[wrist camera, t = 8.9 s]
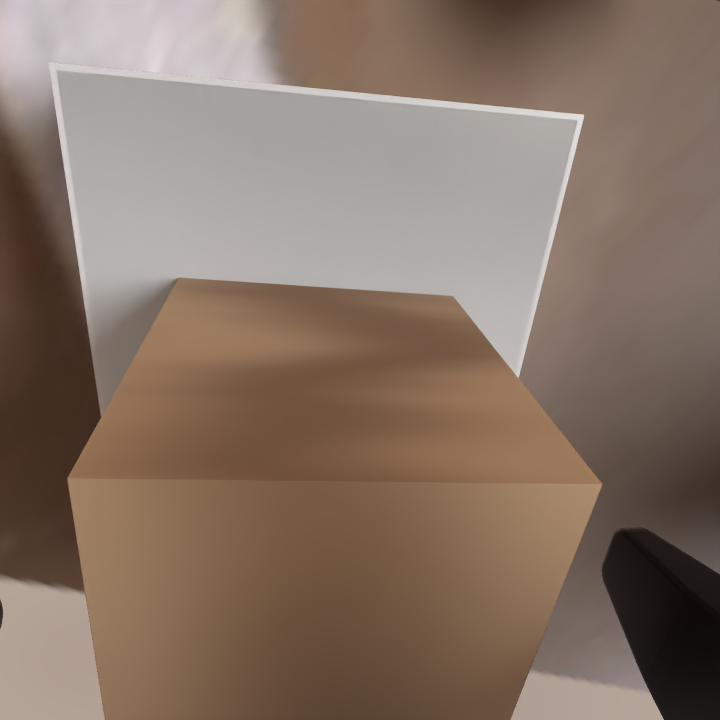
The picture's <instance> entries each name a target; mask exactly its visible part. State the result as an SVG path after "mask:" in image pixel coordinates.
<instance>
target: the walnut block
mask: <svg viewBox="0 0 720 720" xmlns="http://www.w3.org/2000/svg"><path fill="white" fill-rule="evenodd" d="M67 480H68V486H69V493H70V499H71V505H72V512H73V518H74V525H75V531H76V537H77V544H78V550H79V557H80V563H81V569H82V576H83V582H84V589H85V595H86V601H87V608H88V614H89V620H90V626H91V633H92V640H93V646H94V652H95V658H96V665H97V672H98V678H99V684H100V690H101V697H102V704H103V710H104V715H105V720H510V719H511V717H512V714H513V711H514V709H515V706H516V704H517V701H518V698H519V696H520V694H521V691H522V688H523V686H524V683H525V680H526V678H527V676H528V673H529V671H530V668H531V666H532V663H533V660H534V658H535V655H536V653H537V650H538V648H539V645H540V643H541V640H542V637H543V635H544V632H545V630H546V627H547V625H548V622H549V620H550V617H551V614H552V612H553V609H554V607H555V604H556V602H557V599H558V597H559V594H560V592H561V589H562V586H563V584H564V581H565V579H566V576H567V574H568V571H569V569H570V566H571V563H572V561H573V558H574V556H575V553H576V551H577V548H578V546H579V543H580V541H581V538H582V535H583V533H584V530H585V528H586V525H587V523H588V520H589V518H590V515H591V512H592V510H593V507H594V505H595V502H596V500H597V497H598V495H599V492H600V489H601V487H602V483H601V482H600V480H599V479H598V478H597V477H596V475H595V474H594V473H593V472H592V470H591V469H590V468H589V467H588V465H587V464H586V463H585V462H584V460H583V459H582V458H581V456H580V455H579V454H578V453H577V451H576V450H575V449H574V448H573V446H572V445H571V444H570V443H569V441H568V440H567V439H566V438H565V436H564V435H563V434H562V433H561V431H560V430H559V429H558V428H557V426H556V425H555V424H554V422H553V421H552V420H551V419H550V417H549V416H548V415H547V414H546V412H545V411H544V410H543V409H542V407H541V406H540V405H539V404H538V402H537V401H536V400H535V399H534V397H533V396H532V395H531V394H530V392H529V391H528V390H527V388H526V387H525V386H524V385H523V383H522V382H521V381H520V380H519V378H518V377H517V376H516V375H515V373H514V372H513V371H512V370H511V368H510V367H509V366H508V365H507V363H506V362H505V361H504V360H503V358H502V357H501V356H500V354H499V353H498V352H497V351H496V349H495V348H494V347H493V346H492V344H491V343H490V342H489V341H488V339H487V338H486V337H485V336H484V334H483V333H482V332H481V331H480V329H479V328H478V327H477V326H476V324H475V323H474V322H473V320H472V319H471V318H470V317H469V315H468V314H467V313H466V312H465V310H464V309H463V308H462V307H461V305H460V304H459V303H458V302H457V300H456V299H455V298H454V297H453V296H444V295H429V294H415V293H400V292H386V291H371V290H356V289H342V288H327V287H313V286H298V285H283V284H269V283H254V282H239V281H224V280H208V279H193V278H178V280H177V282H176V284H175V285H174V287H173V289H172V291H171V293H170V294H169V296H168V298H167V300H166V302H165V303H164V305H163V307H162V309H161V311H160V312H159V314H158V316H157V318H156V320H155V321H154V323H153V325H152V327H151V329H150V330H149V332H148V334H147V336H146V338H145V339H144V341H143V343H142V345H141V347H140V348H139V350H138V352H137V354H136V356H135V357H134V359H133V361H132V363H131V365H130V366H129V368H128V370H127V372H126V374H125V375H124V377H123V379H122V381H121V383H120V384H119V386H118V388H117V390H116V392H115V393H114V395H113V397H112V399H111V401H110V402H109V404H108V406H107V408H106V410H105V411H104V413H103V415H102V417H101V419H100V420H99V422H98V424H97V426H96V428H95V429H94V431H93V433H92V435H91V437H90V438H89V440H88V442H87V444H86V446H85V447H84V449H83V451H82V453H81V455H80V456H79V458H78V460H77V462H76V464H75V465H74V467H73V469H72V471H71V473H70V474H69V476H68V478H67Z"/></svg>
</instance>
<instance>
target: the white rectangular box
mask: <svg viewBox="0 0 720 720" xmlns="http://www.w3.org/2000/svg"><path fill="white" fill-rule="evenodd" d="M48 63H49V69H50V76H51V83H52V90H53V96H54V103H55V110H56V117H57V123H58V130H59V137H60V144H61V150H62V157H63V164H64V171H65V177H66V184H67V191H68V198H69V204H70V211H71V218H72V225H73V231H74V238H75V245H76V252H77V258H78V265H79V272H80V279H81V285H82V292H83V299H84V306H85V312H86V319H87V326H88V333H89V339H90V346H91V353H92V360H93V366H94V373H95V380H96V387H97V393H98V400H99V407H100V414H101V417H102V415H103V413H104V411H105V410H106V408H107V406H108V404H109V402H110V401H111V399H112V397H113V395H114V393H115V392H116V390H117V388H118V386H119V384H120V383H121V381H122V379H123V377H124V375H125V374H126V372H127V370H128V368H129V366H130V365H131V363H132V361H133V359H134V357H135V356H136V354H137V352H138V350H139V348H140V347H141V345H142V343H143V341H144V339H145V338H146V336H147V334H148V332H149V330H150V329H151V327H152V325H153V323H154V321H155V320H156V318H157V316H158V314H159V312H160V311H161V309H162V307H163V305H164V303H165V302H166V300H167V298H168V296H169V294H170V293H171V291H172V289H173V287H174V285H175V284H176V282H177V280H178V278H193V279H208V280H224V281H239V282H254V283H269V284H283V285H298V286H313V287H327V288H342V289H356V290H371V291H386V292H400V293H415V294H429V295H444V296H453V297H454V298H455V299H456V300H457V302H458V303H459V304H460V305H461V307H462V308H463V309H464V310H465V312H466V313H467V314H468V315H469V317H470V318H471V319H472V320H473V322H474V323H475V324H476V326H477V327H478V328H479V329H480V331H481V332H482V333H483V334H484V336H485V337H486V338H487V339H488V341H489V342H490V343H491V344H492V346H493V347H494V348H495V349H496V351H497V352H498V353H499V354H500V356H501V357H502V358H503V360H504V361H505V362H506V363H507V365H508V366H509V367H510V368H511V370H512V371H513V372H514V373H515V375H516V376H517V377H518V378H519V374H520V370H521V366H522V362H523V358H524V354H525V350H526V346H527V342H528V338H529V334H530V330H531V326H532V322H533V318H534V314H535V310H536V306H537V302H538V298H539V294H540V290H541V286H542V282H543V278H544V274H545V270H546V266H547V262H548V258H549V254H550V250H551V246H552V242H553V238H554V234H555V230H556V226H557V222H558V218H559V214H560V210H561V206H562V202H563V198H564V194H565V190H566V186H567V182H568V178H569V174H570V170H571V166H572V162H573V158H574V154H575V150H576V146H577V142H578V138H579V134H580V130H581V126H582V122H583V118H584V115H580V114H571V113H561V112H550V111H540V110H530V109H520V108H510V107H500V106H489V105H479V104H469V103H459V102H449V101H438V100H428V99H418V98H408V97H398V96H388V95H377V94H367V93H357V92H347V91H337V90H327V89H316V88H306V87H296V86H286V85H276V84H266V83H255V82H245V81H235V80H225V79H215V78H205V77H194V76H184V75H174V74H164V73H154V72H144V71H133V70H123V69H113V68H103V67H93V66H83V65H72V64H62V63H51V62H48Z"/></svg>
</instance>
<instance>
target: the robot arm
mask: <svg viewBox="0 0 720 720" xmlns="http://www.w3.org/2000/svg"><path fill="white" fill-rule="evenodd" d="M602 577H603V581H604V584H605V586H606V589H607V591H608V594H609V596H610V599H611V601H612V604H613V606H614V609H615V611H616V614H617V616H618V618H619V621H620V623H621V626H622V628H623V631H624V633H625V636H626V638H627V641H628V643H629V645H630V648H631V650H632V653H633V655H634V658H635V660H636V663H637V665H638V667H639V670H640V672H641V674H642V676H643V679H644V681H645V683H646V685H647V687H648V689H649V691H650V693H651V695H652V697H653V699H654V701H655V703H656V705H657V707H658V709H659V711H660V713H661V715H662V717H663V719H664V720H720V574H718V573H717V572H715V571H713V570H712V569H710V568H709V567H707V566H705V565H704V564H702V563H701V562H699V561H697V560H696V559H694V558H692V557H691V556H689V555H688V554H686V553H684V552H683V551H681V550H680V549H678V548H676V547H675V546H673V545H672V544H670V543H668V542H667V541H665V540H663V539H662V538H660V537H659V536H657V535H655V534H654V533H652V532H651V531H649V530H647V529H645V528H640V527H638V528H621V529H618V530H617V531H616V532H615V533H614V535H613V537H612V540H611V542H610V545H609V548H608V551H607V553H606V556H605V559H604V562H603V565H602ZM2 618H3V608H2V603H1V601H0V628H1V624H2Z"/></svg>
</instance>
